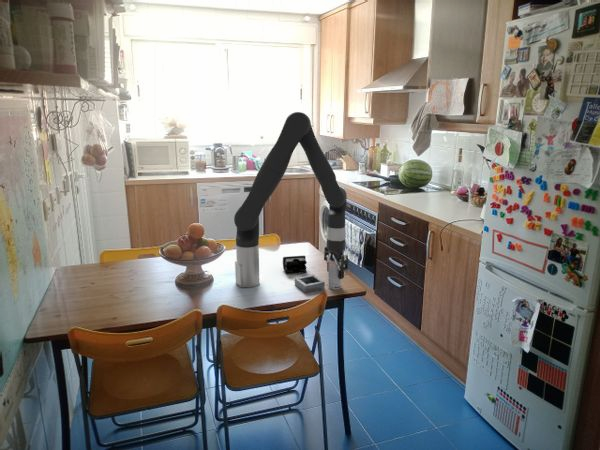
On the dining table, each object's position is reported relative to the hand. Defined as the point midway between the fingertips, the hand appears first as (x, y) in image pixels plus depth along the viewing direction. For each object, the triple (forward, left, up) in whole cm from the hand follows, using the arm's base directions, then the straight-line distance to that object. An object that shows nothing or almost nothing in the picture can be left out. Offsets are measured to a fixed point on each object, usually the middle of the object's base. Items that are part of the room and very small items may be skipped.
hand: (335, 275), depth 182 cm
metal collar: (-9, +5, -5) cm, 12 cm away
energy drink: (0, 0, -6) cm, 6 cm away
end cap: (-6, +24, -6) cm, 25 cm away
